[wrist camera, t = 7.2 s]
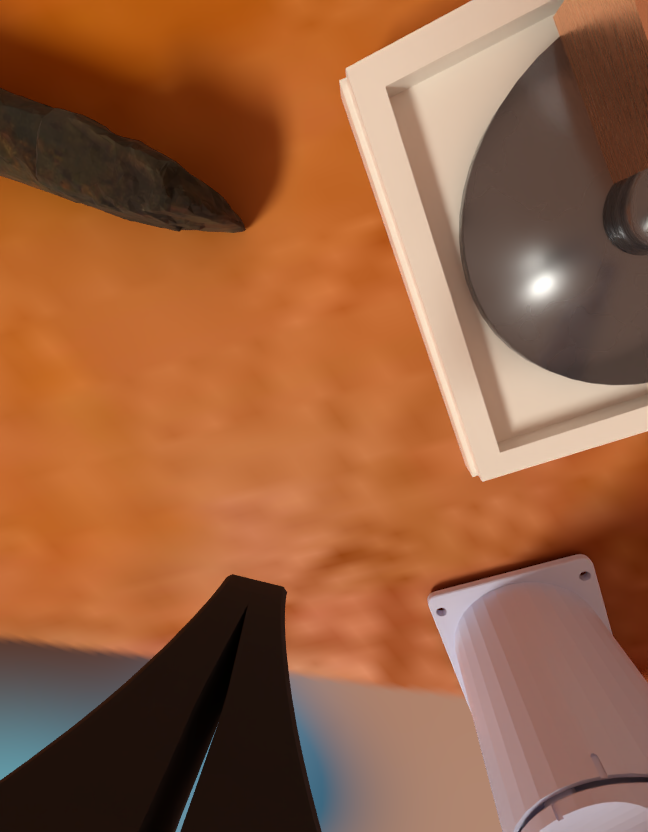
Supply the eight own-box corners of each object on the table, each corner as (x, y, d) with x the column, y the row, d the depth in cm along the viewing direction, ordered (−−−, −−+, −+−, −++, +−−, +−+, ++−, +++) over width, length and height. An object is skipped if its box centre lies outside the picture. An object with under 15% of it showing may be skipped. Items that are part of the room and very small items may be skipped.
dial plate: (869, 338, 16) (956, 344, 13) (465, 466, 19) (480, 489, 16) (833, -161, 12) (944, -270, 10) (341, 97, 15) (337, 61, 13)
